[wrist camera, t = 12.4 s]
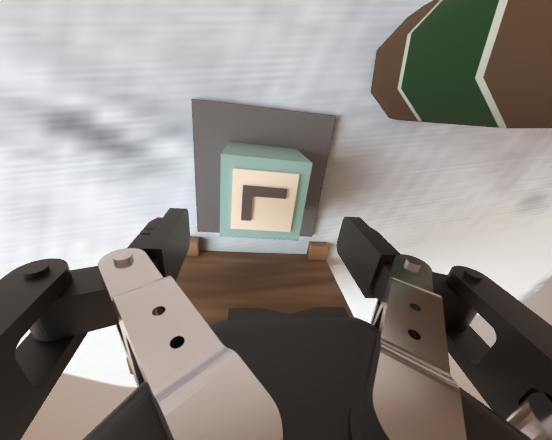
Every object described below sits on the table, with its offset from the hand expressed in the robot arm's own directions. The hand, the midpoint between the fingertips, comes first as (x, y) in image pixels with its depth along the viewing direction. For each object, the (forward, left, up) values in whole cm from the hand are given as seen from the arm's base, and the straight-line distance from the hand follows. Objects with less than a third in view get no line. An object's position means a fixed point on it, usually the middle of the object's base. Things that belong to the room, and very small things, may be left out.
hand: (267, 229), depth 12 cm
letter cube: (0, 0, -11) cm, 11 cm away
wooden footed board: (+10, 0, -11) cm, 15 cm away
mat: (0, 0, -11) cm, 11 cm away
